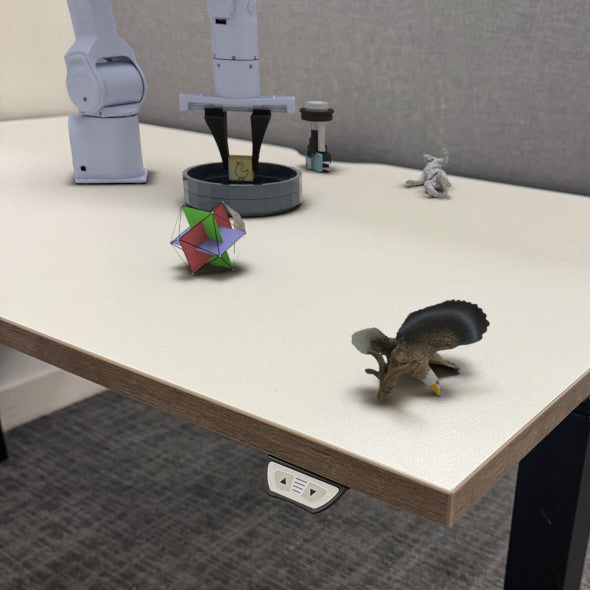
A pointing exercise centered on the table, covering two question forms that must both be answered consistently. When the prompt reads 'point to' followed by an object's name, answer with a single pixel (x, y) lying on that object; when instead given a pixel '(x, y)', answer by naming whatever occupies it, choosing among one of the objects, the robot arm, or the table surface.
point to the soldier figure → (433, 174)
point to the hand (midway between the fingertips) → (241, 169)
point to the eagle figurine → (421, 342)
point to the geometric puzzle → (209, 236)
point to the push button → (317, 134)
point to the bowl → (243, 189)
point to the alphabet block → (240, 168)
